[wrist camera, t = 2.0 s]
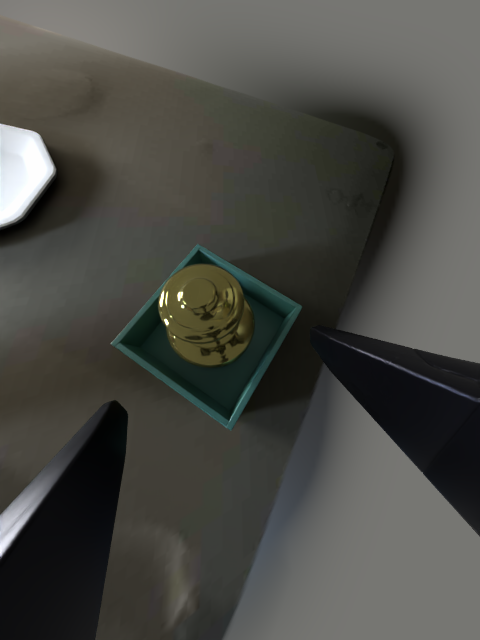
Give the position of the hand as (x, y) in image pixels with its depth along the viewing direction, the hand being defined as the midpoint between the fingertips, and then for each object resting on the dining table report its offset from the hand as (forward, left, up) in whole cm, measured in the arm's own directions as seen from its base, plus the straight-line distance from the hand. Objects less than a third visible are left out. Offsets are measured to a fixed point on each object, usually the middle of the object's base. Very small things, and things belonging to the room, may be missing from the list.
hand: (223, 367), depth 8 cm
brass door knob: (+3, -2, -10) cm, 11 cm away
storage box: (+3, -2, -11) cm, 11 cm away
